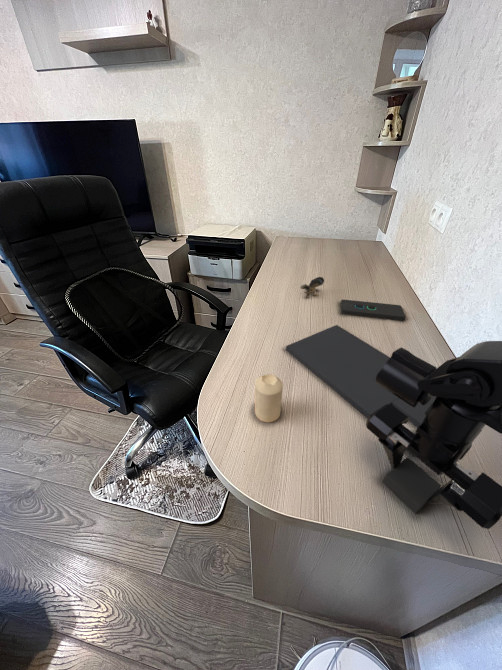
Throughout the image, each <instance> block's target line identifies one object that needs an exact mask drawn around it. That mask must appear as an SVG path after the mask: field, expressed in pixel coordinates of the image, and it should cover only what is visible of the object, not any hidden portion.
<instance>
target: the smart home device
mask: <svg viewBox="0 0 502 670" xmlns="http://www.w3.org/2000/svg"><path fill="white" fill-rule="evenodd" d="M404 311H405V310H404V309H403V306H402V305H400V304H393V303H382V302H372V301H364V300H363V301H361V300H355V299H354V300H351V299H341V300H340V314H341V315H344V316H345V315H346V316H354V317H355V316H356V317H364V318H373V319H382V320H391V321H400V322H402V321H403V322H404V321H405V319H406V313H405V312H404Z"/></svg>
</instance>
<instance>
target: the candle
mask: <svg viewBox="0 0 502 670" xmlns="http://www.w3.org/2000/svg"><path fill="white" fill-rule="evenodd" d="M283 387H284V385H283V381H282V380H281V379H280V377H278V376H276V375H275V374H272V373H267V374H263V375H261V376H259V377H258V378H257V379H256V380H255V383H254V414H255V416H256V418H257V419H258V420H260V421H261V422H264V423H273V422H276V421H277V420H278V419H279V417H280V415H281V409H282V399H283Z"/></svg>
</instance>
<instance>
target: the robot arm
mask: <svg viewBox="0 0 502 670" xmlns="http://www.w3.org/2000/svg"><path fill="white" fill-rule="evenodd" d="M376 383H377V384H379V385H380V386H382V387H383V388H385V389H386V390H388V391H389V392H391V393H392V394H394V395H395V396H397V397H398V398H400V399H401V400H403V401H404V402H406V403H407V404H409V405H410V406H412V407H415V406H416V405H417V404H418V402H419V403H420V404H422V405H425V404H426V403H428V402H429V401H430V399H431V398H432V397H433V396H436V399H435V400H434V402H433V403H432V404H431V406H430V407H429V408H428V409H427V411H426V412H425V415H426V416H425V418H424V420H423V422H422V424H421V425H420V426H419V427H416V430H415V432H416V434H414V433H415V432H412V431H411V430H410V429H408V428H407V427H406V426H405V425H406V424H407V423H409V422H410V421H409V419H410V418H409V417H408V416H406V415H405V414H404V413H402V412H401V411H399V410H398V409H397V408H395V407H394V406H393V405H391V404H386V405H384V406H383V407H381V408H380V409H378V410H377V411H375V412H374V413H372V414H371V415H370V416H369V418H367V420H366V422H365V426H366V427H365V428H366V429H367V430H369V431H370V433H372V434H373V435H374V436H375V437H376V438H377V439H378V443H380V445H382V447H383V450H384V452H385V454H386V457H387V460H388V462H389V465H390V469H391V470H393V469H394V468H395V467H397V466H398V465H399V464H400V463H401V462H402V461H403V457H404V455H405V452H406V449H407V450H409V451H410V452H411V453H412V454H413V456H414V457H416V459H418V460H420V462H422V463H423V464H424V465H425V466H427V468H429V469H430V470H431V471H432V472H434V473H435V474H436V475H437V476H439V475H443V474H444V476H446V477H447V478H448V479H450V480H449V481H448V482H446V483H445V484H444V485H441V487H440V489H438V490H437V491H436V492H435V493H434V494H433V495H432V496H431V497H430V498H429V499H428V501H427V503H428V504H433V505H434V504H435V505H436V504H437V505H445V506H450V507H452V508H454V509H455V510H456V511H458V512H463V513H464V514H465V515H467V516H468V517H469V518H470V519H471V520H473V521H474V522H475V523H476V524H477V525H478V526H479V527H480V528H482V529H485V530H486V529H487V530H490V529H491V528H492V527H494V526H495V525H496V524H497V523H498V522H499V521H500V520H501V519H502V485H501V484H500V483H498V482H497V481H496V480H494V479H493V478H491V477H490V476H489V475H488V474H486V473H485V472H483V471H482V472H481V473H480V474H477V473H476V472H475V471H473V469H470V468H464V467H463V466H461V465H460V464H458V463H457V462H458V461H461V460H463V459H464V457H465V456H466V455H467V453H468V452H469V451H470V450H471V448H472V446H473V442H474V441H475V440H476V438H477V437H479V435H480V434H481V432H482V431H483V429H484V427H486V426H487V427H489V428H490V429H492V430H494V431H495V432H497V433H499V434H502V340H485V341H482V342H478V343H476V344H474V345H472V346H471V347H470V348H469V349H467V350H466V351H465V352H464V353H462V354H461V355H460V356H457V357H454V358H451V359H447V360H446V361H445V362H443V363H441V364H440V365H439V366H438V367H436V366H435V365H433V364H431V363H429V362H427V361H425V360H423V359H422V358H420V357H418V356H416V355H414V354H413V353H412V352H411V351H409V350H407V349H406V348H404V347H399V348H397V349H395V350H394V351H392V353H391V356H390V359H389V360H388V361H387V362H386V363H385V365H384V366H383V368H382V369H381V370H380V371H379V372H378V374H377V376H376ZM403 424H404V425H403Z"/></svg>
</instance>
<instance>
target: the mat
mask: <svg viewBox="0 0 502 670" xmlns="http://www.w3.org/2000/svg"><path fill="white" fill-rule="evenodd" d="M285 346H286V347H285V351H286V352H287V353H289V355H291V356H292V357H293V358H295V359H296V360H297V361H298V362H299V363H301V364H302V365H303V366H305V367H306V368H307V369H308V370H309V371H310V372H312V373H313V374H314V375H315V376H316V377H318V378H319V379H320V380H321V381H322V382H324V383H325V384H326V385H327V386H328V387H330V388H331V389H332V390H333V391H334V392H335V393H337V394H338V395H339V396H340V397H342V398H343V399H344V400H345V401H346V402H348V404H350V405H351V406H352V407H353V408H355V409H356V410H357V411H358V412H359V413H361V414H362V415H363V416H364V417H366V418H367V419H368V418H369V416H370V415H371V414H372V413H374V412H375V411H377V410H378V409H380V408H381V407H383V406H384V405H386V404H391V405H393V406H394V407H395V408H397V409H398V410H399V411H401V412H402V413H404V414H405V415H406V416H408V417H409V418H410V419H409V421H408V422H409V423H411V424H413V425H414V426H415V427H416V428H418V427H419V426H420V425H421V424H422V422H423V420H424V418H425V416H426V415H425V412H426V411H427V409H428V408H429V407H430V406H431V404H432V403H433V402H434V400H435V399H436V396H433V397H432V398H431V399H430V401H429V402H428V403H426V404H425V405H422V404H420V403H419V402H418V404H417V405H416V406H415V407H412V406H410V405H409V404H407V403H406V402H404V401H403V400H401V399H400V398H398V397H397V396H395V395H394V394H392V393H391V392H389V391H388V390H386V389H385V388H383V387H382V386H380V385H379V384H377V383H376V376H377V374H378V372H379V371H380V370H381V369H382V368H383V366H384V365H385V363H386V362H387V361H388V360H389V359H390V358H391V356H389V355H387V354H386V353H384V352H382V351H380V350H379V349H378V348H375V347H374V346H372V345H370V344H369V343H367V342H366V341H364V340H362V339H361V338H359V337H357V336H356V335H354V334H353V333H351V332H349V331H348V330H346V329H345V328H343V327H341V326H339V325H338V324H335V325H333V326H331V327H328V328H326V329H323V330H321V331H319V332H316V333H314V334H311V335H309V336H307V337H304V338H301V339H299V340H297V341H295V342H293V343H290V344H287V345H285ZM413 433H414V434H416V431H415V432H413ZM405 452H407V453H409V454H410V455H411V456H412V457H413V456H414V455H413V454H412V453H411V452H410V451H409V450H407V449H406V450H405Z"/></svg>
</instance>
